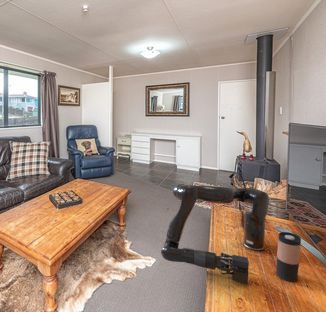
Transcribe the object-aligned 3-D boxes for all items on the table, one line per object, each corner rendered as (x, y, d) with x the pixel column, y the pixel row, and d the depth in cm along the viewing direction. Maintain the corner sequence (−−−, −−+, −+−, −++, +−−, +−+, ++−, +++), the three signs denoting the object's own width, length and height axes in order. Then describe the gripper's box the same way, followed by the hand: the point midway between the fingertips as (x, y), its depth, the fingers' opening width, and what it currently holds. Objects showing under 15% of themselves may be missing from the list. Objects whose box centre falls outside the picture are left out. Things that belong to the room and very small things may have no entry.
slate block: (231, 273, 108) (232, 254, 106) (246, 277, 105) (247, 257, 103) (231, 279, 104) (232, 259, 102) (247, 283, 101) (248, 263, 99)
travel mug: (277, 268, 110) (279, 230, 107) (298, 275, 105) (302, 235, 101) (274, 277, 105) (277, 236, 101) (296, 284, 99) (300, 242, 96)
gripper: (204, 260, 103) (249, 270, 95) (205, 244, 116) (245, 251, 108) (203, 275, 105) (248, 286, 97) (204, 257, 117) (244, 266, 109)
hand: (246, 268), depth 102 cm, fingers closed on slate block, 4 cm apart
